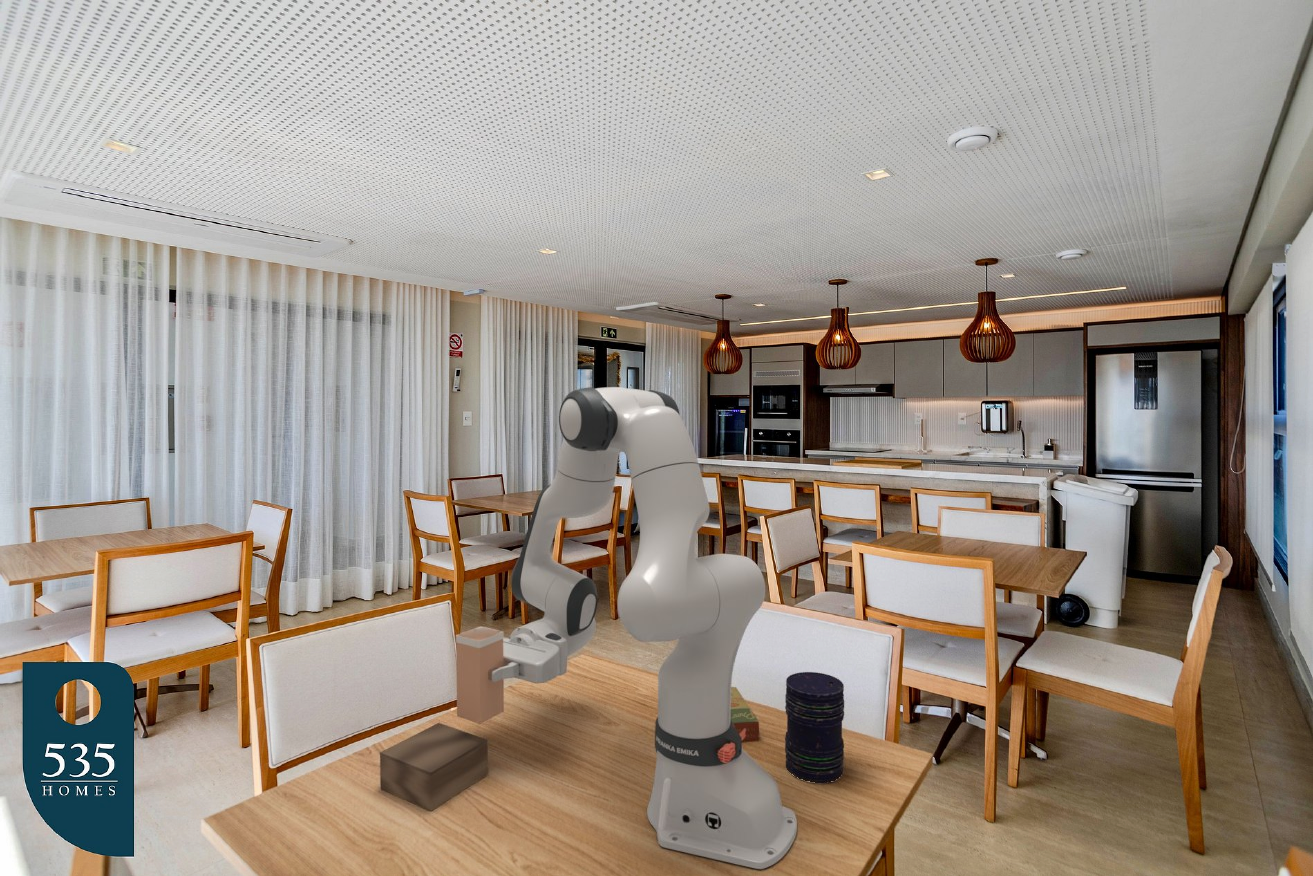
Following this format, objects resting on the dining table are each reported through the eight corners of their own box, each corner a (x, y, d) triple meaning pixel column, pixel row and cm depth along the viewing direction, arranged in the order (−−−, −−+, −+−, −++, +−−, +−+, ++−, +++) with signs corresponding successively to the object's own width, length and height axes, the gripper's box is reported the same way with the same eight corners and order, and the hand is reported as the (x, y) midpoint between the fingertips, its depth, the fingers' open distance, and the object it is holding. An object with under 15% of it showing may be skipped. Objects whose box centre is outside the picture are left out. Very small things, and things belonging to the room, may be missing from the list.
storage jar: (791, 784, 107) (792, 695, 107) (779, 754, 117) (780, 672, 117) (851, 784, 108) (852, 694, 107) (834, 753, 117) (835, 671, 117)
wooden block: (488, 774, 110) (487, 739, 110) (431, 811, 100) (430, 772, 100) (438, 756, 116) (438, 722, 116) (380, 788, 106) (380, 752, 106)
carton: (736, 705, 138) (737, 685, 138) (760, 742, 122) (760, 720, 122) (698, 708, 137) (698, 687, 137) (717, 746, 121) (717, 723, 121)
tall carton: (504, 711, 113) (503, 631, 113) (480, 724, 108) (479, 641, 108) (481, 704, 116) (480, 626, 116) (456, 716, 111) (455, 635, 111)
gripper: (491, 622, 128) (434, 643, 116) (573, 640, 118) (520, 665, 106) (491, 654, 128) (434, 678, 117) (573, 675, 118) (520, 704, 106)
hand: (476, 672), depth 111 cm, fingers closed on tall carton, 5 cm apart
